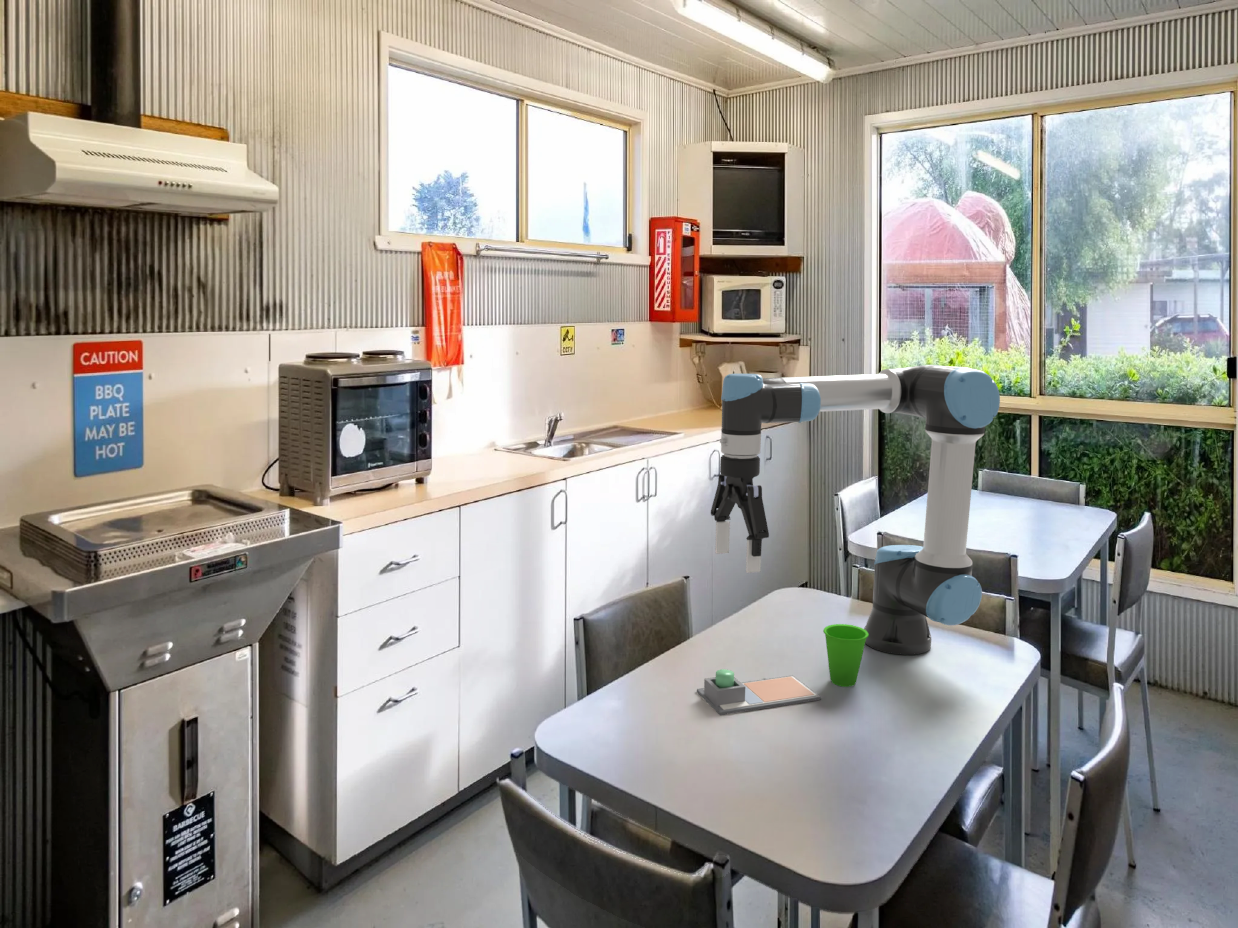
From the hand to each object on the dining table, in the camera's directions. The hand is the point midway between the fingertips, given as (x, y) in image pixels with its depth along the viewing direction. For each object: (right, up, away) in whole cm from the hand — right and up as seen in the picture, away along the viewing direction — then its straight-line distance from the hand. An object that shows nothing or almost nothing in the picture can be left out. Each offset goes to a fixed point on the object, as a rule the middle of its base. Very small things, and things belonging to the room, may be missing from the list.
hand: (737, 562), depth 174 cm
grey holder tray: (+5, -27, +4) cm, 28 cm away
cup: (+24, -26, +11) cm, 37 cm away
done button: (-2, -25, +1) cm, 25 cm away
